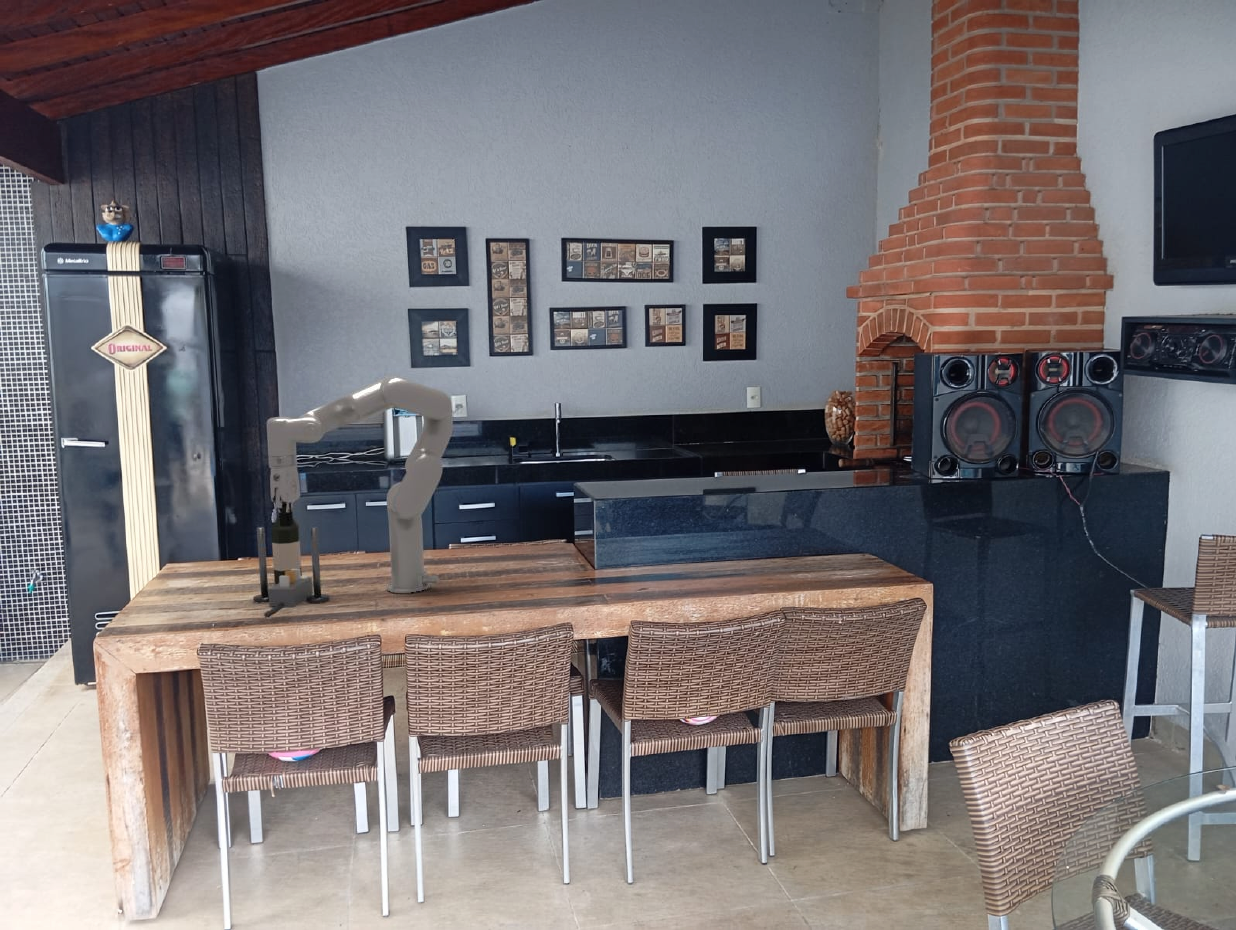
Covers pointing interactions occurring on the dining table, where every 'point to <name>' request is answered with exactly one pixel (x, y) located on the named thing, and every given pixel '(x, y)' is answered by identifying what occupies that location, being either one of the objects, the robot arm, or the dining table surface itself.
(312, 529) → the post
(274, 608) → the grey power strip
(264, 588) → the post
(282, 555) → the wine bottle
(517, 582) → the dining table surface
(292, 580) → the breaker paddle
